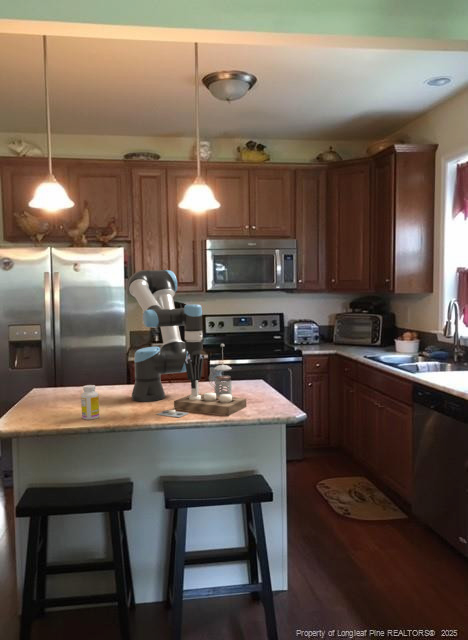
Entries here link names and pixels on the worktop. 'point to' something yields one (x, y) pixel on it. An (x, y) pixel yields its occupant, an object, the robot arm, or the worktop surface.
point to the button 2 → (210, 397)
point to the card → (172, 413)
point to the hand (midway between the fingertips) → (195, 395)
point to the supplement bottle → (89, 403)
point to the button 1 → (195, 397)
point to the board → (210, 405)
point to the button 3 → (226, 398)
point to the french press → (222, 379)
